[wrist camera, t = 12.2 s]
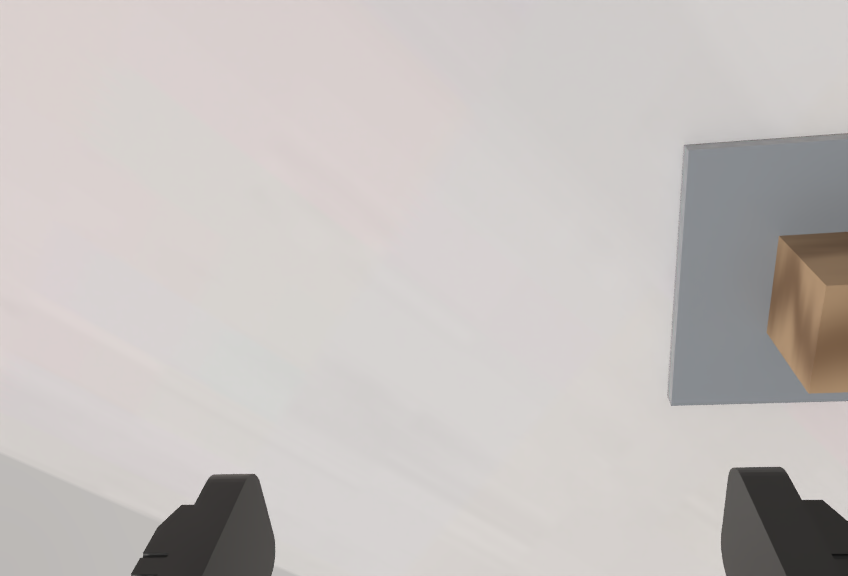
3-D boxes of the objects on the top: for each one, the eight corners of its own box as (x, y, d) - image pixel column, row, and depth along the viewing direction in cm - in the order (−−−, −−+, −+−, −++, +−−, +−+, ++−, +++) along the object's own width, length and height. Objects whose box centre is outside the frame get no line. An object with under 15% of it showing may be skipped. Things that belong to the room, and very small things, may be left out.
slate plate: (684, 145, 37) (688, 150, 36) (1018, 121, 35) (1031, 126, 34) (667, 396, 44) (670, 405, 43) (944, 388, 42) (954, 398, 41)
